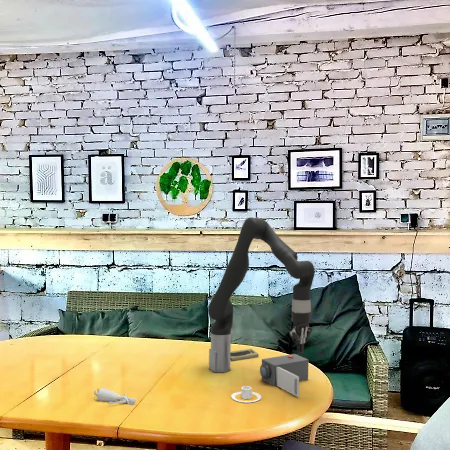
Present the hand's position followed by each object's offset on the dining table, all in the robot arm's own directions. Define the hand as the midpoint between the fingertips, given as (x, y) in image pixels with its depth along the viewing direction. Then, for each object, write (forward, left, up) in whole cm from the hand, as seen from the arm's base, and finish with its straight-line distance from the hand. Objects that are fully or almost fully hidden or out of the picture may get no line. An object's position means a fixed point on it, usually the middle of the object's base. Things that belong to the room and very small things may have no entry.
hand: (300, 352), depth 205 cm
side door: (-3, +5, -17) cm, 18 cm away
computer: (+5, +55, -18) cm, 58 cm away
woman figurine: (-68, +28, -18) cm, 76 cm away
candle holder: (-21, +7, -18) cm, 29 cm away
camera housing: (+4, +17, -17) cm, 25 cm away
